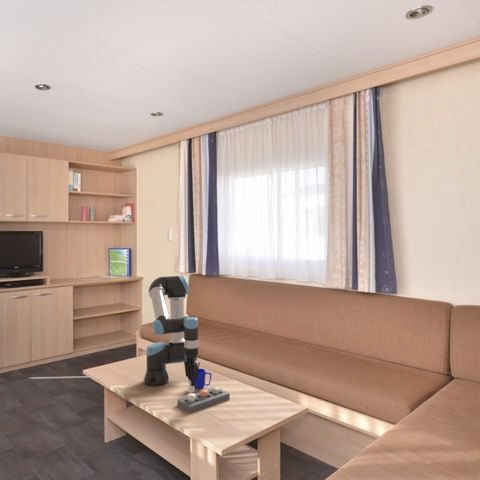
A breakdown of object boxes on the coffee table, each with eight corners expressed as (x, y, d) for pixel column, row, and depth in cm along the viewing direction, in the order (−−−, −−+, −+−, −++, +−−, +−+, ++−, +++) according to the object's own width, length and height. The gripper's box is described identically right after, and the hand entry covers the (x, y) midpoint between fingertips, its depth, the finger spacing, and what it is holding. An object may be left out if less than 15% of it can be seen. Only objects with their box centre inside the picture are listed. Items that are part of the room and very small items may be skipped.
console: (177, 405, 208) (177, 399, 208) (216, 392, 225) (216, 386, 225) (189, 412, 199) (189, 407, 199) (229, 398, 216) (229, 393, 216)
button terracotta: (198, 396, 212) (198, 390, 212) (205, 394, 215) (204, 388, 215) (202, 398, 209) (202, 393, 209) (209, 396, 212) (209, 391, 212)
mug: (209, 391, 226) (209, 374, 226) (189, 389, 229) (189, 372, 228) (213, 385, 234) (213, 369, 234) (194, 384, 237) (193, 368, 237)
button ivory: (185, 400, 207) (185, 394, 207) (192, 398, 210) (192, 392, 210) (190, 403, 204) (190, 397, 204) (197, 400, 207) (197, 395, 206)
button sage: (210, 393, 217) (210, 388, 217) (216, 391, 220) (216, 386, 220) (214, 396, 214) (214, 390, 214) (221, 394, 217) (221, 388, 217)
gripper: (178, 345, 209) (179, 389, 209) (191, 351, 199) (192, 397, 199) (190, 343, 214) (190, 385, 214) (204, 348, 204) (204, 393, 204)
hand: (191, 391), depth 207 cm, fingers closed
